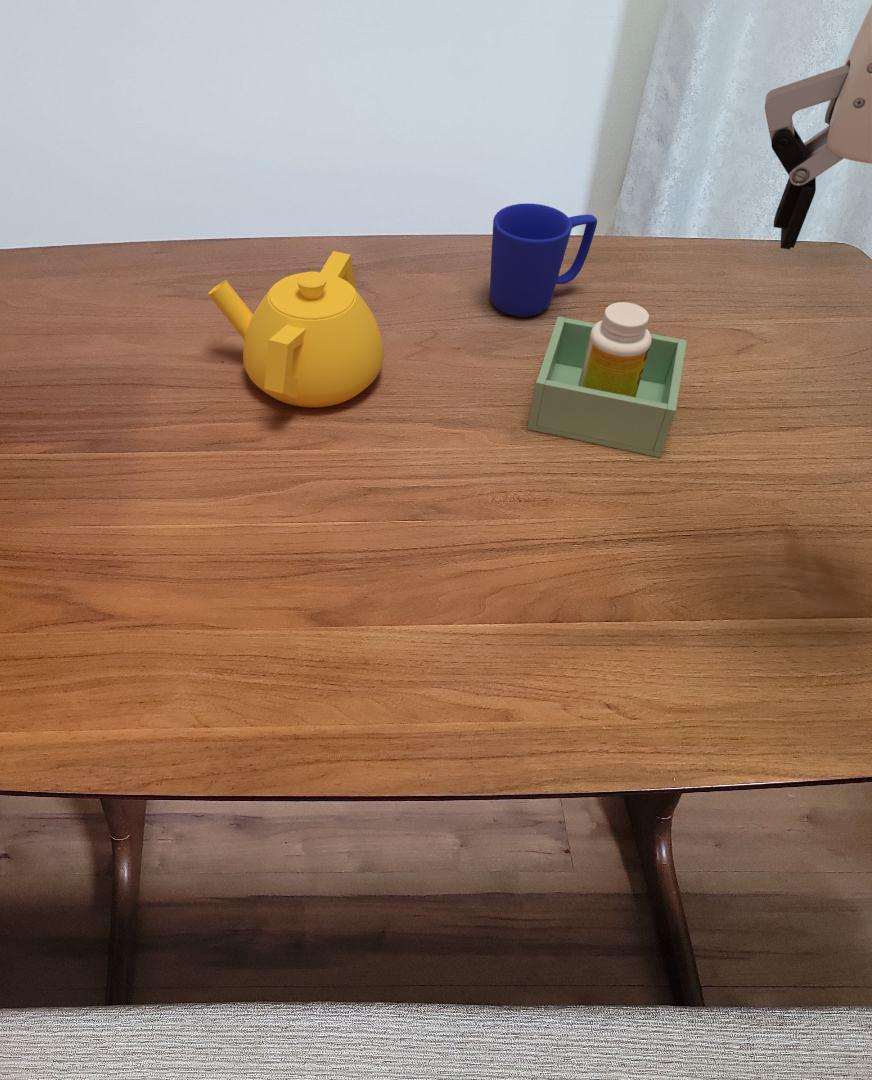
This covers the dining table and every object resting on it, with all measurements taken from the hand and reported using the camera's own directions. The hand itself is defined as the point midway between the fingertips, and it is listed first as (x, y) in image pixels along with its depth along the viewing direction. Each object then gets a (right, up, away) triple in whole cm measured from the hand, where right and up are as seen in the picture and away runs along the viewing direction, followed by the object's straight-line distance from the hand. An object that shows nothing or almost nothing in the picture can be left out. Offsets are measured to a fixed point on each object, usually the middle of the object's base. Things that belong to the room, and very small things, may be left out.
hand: (868, 251), depth 57 cm
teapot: (-37, 0, +39) cm, 54 cm away
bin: (-7, -5, +35) cm, 35 cm away
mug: (-10, +9, +48) cm, 50 cm away
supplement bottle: (-6, -5, +34) cm, 35 cm away
